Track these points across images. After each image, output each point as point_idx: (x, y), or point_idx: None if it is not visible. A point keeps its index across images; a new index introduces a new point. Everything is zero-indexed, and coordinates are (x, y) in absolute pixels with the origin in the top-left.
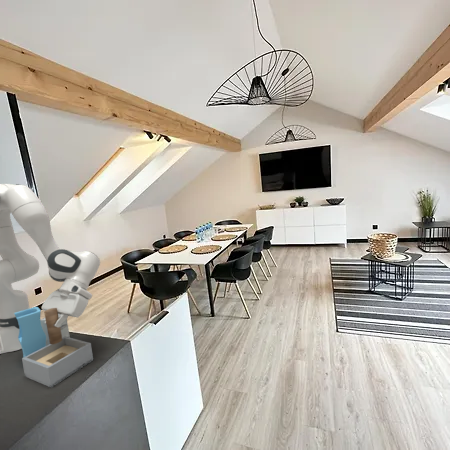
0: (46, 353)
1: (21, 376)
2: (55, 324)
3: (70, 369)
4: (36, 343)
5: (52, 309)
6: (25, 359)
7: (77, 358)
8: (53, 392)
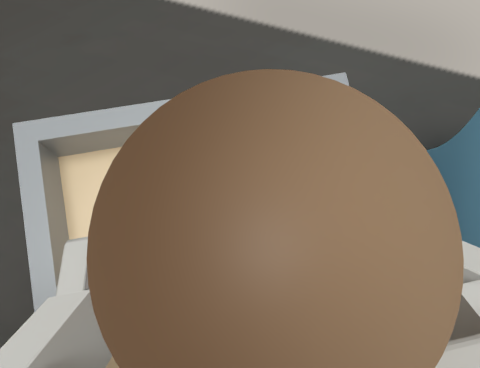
0: None
1: None
2: (77, 245)
3: None
4: (476, 198)
5: (297, 309)
6: None
7: None
8: (4, 152)
